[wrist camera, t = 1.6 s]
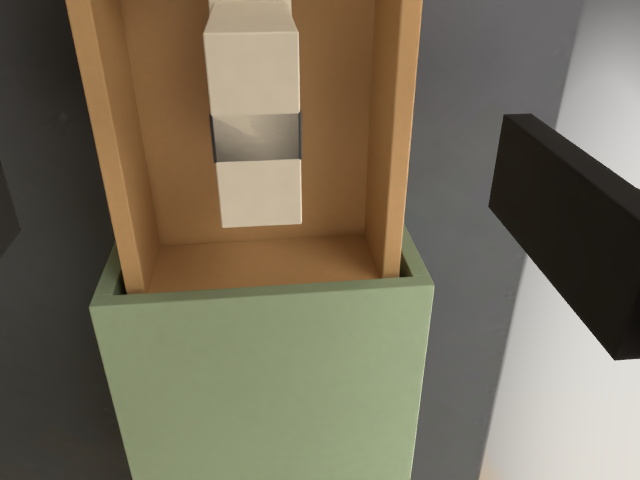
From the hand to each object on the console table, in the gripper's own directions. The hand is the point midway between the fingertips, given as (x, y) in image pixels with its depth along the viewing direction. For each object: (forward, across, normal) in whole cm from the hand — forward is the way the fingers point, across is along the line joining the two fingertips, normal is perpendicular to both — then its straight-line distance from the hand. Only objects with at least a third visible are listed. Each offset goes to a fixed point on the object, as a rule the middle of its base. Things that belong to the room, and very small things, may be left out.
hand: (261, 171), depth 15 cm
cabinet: (+13, 0, -17) cm, 21 cm away
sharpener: (+11, 0, 0) cm, 11 cm away
